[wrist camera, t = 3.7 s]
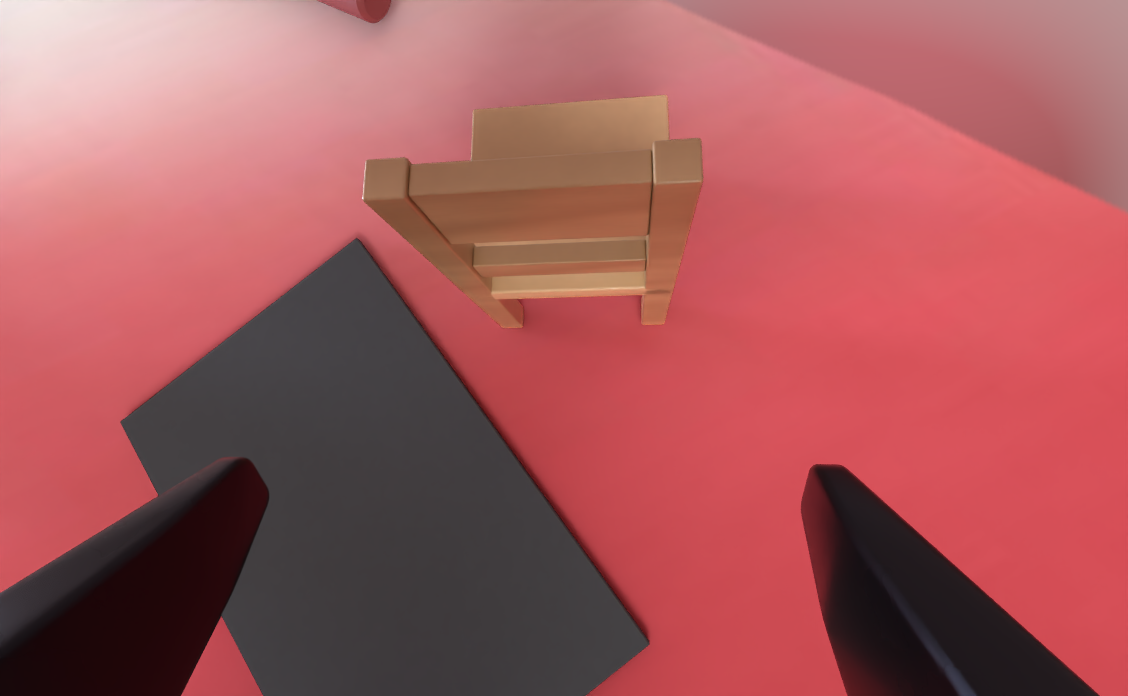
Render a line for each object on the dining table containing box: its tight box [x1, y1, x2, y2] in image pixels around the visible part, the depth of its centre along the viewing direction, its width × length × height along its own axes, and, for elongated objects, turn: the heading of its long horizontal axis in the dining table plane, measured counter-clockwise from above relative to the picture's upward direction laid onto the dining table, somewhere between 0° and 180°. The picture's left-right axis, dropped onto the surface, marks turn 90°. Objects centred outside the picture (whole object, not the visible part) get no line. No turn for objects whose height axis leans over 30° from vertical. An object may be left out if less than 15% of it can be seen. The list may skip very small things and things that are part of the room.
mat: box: [120, 238, 649, 696], centre depth 21 cm, size 20×13×1 cm, turn 38°
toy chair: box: [362, 95, 703, 328], centre depth 16 cm, size 7×7×12 cm
